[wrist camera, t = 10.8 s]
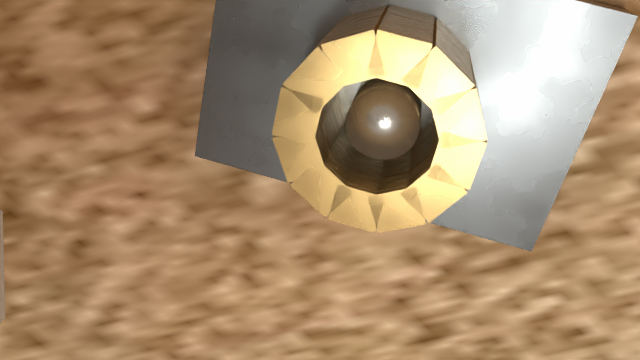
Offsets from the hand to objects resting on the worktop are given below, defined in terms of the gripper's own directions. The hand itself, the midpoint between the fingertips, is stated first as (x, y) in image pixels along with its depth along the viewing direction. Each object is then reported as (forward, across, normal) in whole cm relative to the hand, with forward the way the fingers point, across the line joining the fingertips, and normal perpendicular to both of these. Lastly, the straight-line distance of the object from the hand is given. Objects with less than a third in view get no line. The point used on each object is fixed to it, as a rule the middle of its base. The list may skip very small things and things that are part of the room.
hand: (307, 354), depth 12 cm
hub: (+18, 0, 0) cm, 18 cm away
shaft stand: (+20, 0, 0) cm, 20 cm away
